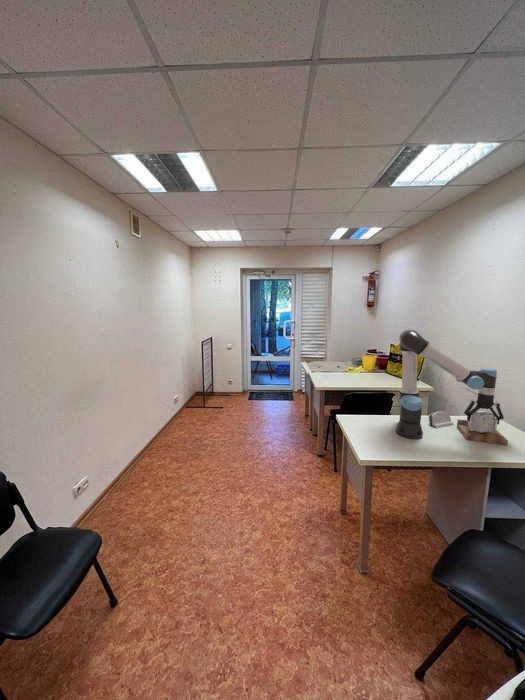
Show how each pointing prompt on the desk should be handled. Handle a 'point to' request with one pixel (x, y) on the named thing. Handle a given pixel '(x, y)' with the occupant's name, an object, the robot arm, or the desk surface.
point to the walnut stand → (480, 434)
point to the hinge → (440, 419)
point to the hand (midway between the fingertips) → (481, 427)
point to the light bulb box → (483, 421)
